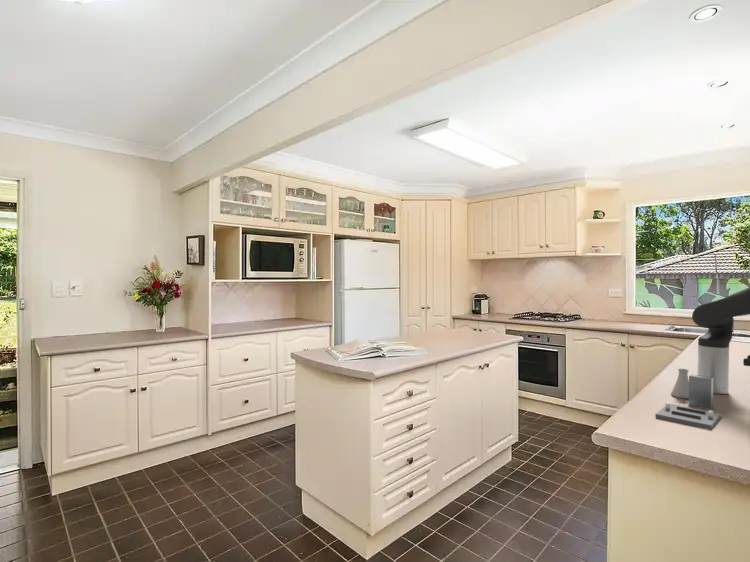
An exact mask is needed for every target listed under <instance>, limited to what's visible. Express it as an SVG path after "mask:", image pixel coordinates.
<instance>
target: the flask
mask: <svg viewBox="0 0 750 562" xmlns="http://www.w3.org/2000/svg"><path fill="white" fill-rule="evenodd" d="M677 370H678V376H677V380H676V381H675V382H674V383H675V384H674V386H673V387H672V390H671V392H670V395H671V396H673V397H675V398H680V399H688V400H689V374H688V373H689V371H690V370H689V369H687V368H683V367H682V368H681V367H678V368H677Z"/></svg>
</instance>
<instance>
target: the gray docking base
mask: <svg viewBox="0 0 750 562" xmlns="http://www.w3.org/2000/svg"><path fill="white" fill-rule="evenodd" d="M664 404H665V406H664V407H663V408H661V409H660V410H658V411H657V412H656V413H655V417H656V419H659V418H661V419H660V420H664V419H665V420H664V421H668V420H669V422H673V421H674V422H673V423H678V422H679V424H684V425H688V426H693V427H696V428H697V427H698V428H701V427H702V429H706V428H707V429H706V430H712V429H713V428H714V427H715V426H716V424H717V423H718V421H720V419H721V418H722V413H721V412H717V411H713V410H707V409H706V410H705V409H702V408H697V407H691V406H684V405H679V404H678V405H677V404H674V403H670V402H665V403H664ZM714 425H715V426H714Z"/></svg>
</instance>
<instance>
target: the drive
mask: <svg viewBox="0 0 750 562" xmlns="http://www.w3.org/2000/svg"><path fill="white" fill-rule="evenodd" d="M688 380H689V399H688V406H689V405H690V406H689V407H694V408H700V407H702V408H701V409H706V408H708V409H707V410H712V409H713V408H712V407H714V393H713V377H707V376H700V375H698V374H690V375H688ZM711 408H712V409H711Z"/></svg>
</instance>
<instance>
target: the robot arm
mask: <svg viewBox="0 0 750 562" xmlns="http://www.w3.org/2000/svg"><path fill="white" fill-rule="evenodd" d="M691 315H692V316H691V318H692V321H693V322H694V323H695V325H696V326H699V327H701V328H704V329H707V331H706V333H705V334H703V335H702V336H700V337H698V340H697V344H698V345H697V375H700V376H707V377H713V394H717V395H718V394H720V395H727V394H729V387H730V386H729V385H730V380H729V379H730V378H729V374H730V370H729V369H730V365H729V364H730V343H731V341H732V338H733V330H734V318H735V317H740V316H741V317H742V316H748V315H750V286H749V287H746V288H744V289H741V290H739V291H736V292H734V293H731V294H730V295H728V296H726V297H723V298H720V299H717V300H712V301H710V302H706V303H702V304H699V305H698V306H697V307H695V308H694V310H693V311H692V314H691ZM742 364H743V366H746V367H750V354H749V355H747V356H746V358H743V363H742Z"/></svg>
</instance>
